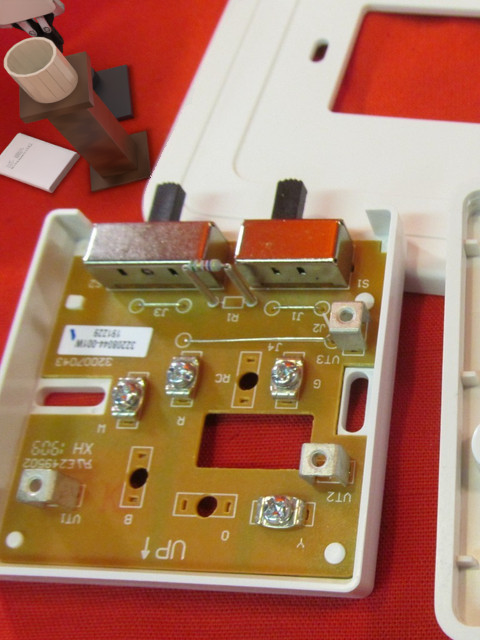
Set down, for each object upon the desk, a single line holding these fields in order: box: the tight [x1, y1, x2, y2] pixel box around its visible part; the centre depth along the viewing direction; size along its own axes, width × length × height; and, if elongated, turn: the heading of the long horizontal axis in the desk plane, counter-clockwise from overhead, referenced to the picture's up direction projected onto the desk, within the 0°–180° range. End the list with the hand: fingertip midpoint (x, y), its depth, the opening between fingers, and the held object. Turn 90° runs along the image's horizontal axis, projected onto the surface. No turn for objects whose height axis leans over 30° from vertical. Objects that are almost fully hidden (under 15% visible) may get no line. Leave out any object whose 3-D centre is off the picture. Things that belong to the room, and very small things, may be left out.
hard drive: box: [0, 132, 81, 194], centre depth 117 cm, size 2×8×12 cm
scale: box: [91, 64, 135, 123], centre depth 121 cm, size 11×13×3 cm
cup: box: [3, 36, 78, 103], centre depth 98 cm, size 7×7×5 cm
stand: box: [18, 50, 153, 193], centre depth 108 cm, size 10×10×18 cm
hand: (58, 48), depth 115 cm, fingers closed
